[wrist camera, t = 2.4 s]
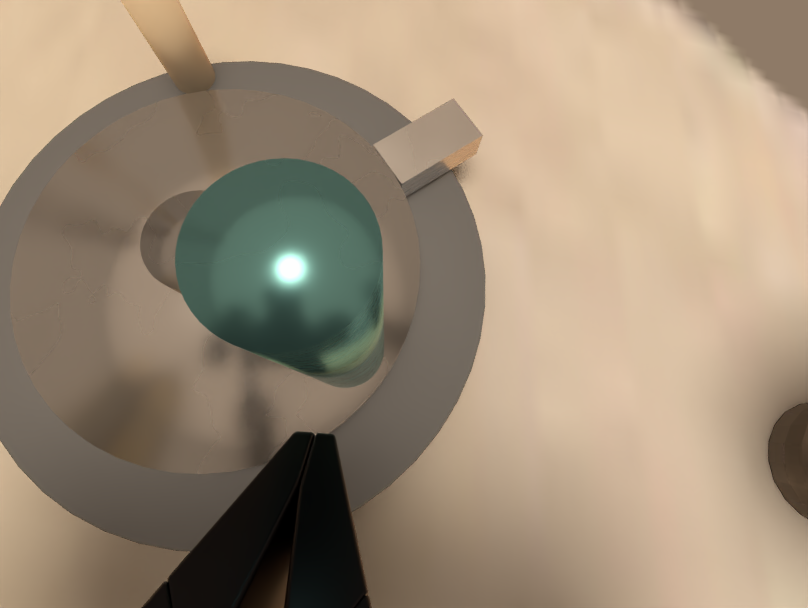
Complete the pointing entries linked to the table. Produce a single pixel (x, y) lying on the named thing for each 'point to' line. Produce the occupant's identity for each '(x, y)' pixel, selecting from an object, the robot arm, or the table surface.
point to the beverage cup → (791, 457)
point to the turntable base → (356, 438)
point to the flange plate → (149, 327)
